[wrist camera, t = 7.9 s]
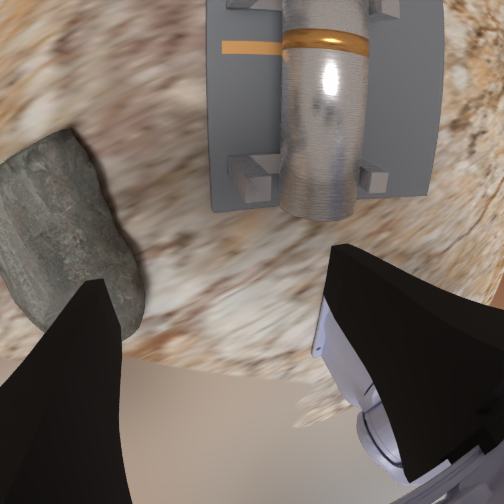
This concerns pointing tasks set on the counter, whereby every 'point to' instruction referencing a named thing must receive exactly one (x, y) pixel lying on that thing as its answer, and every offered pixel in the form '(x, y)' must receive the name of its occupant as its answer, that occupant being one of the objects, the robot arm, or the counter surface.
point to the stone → (62, 234)
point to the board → (378, 96)
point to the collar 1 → (380, 8)
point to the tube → (323, 106)
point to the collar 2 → (263, 164)
